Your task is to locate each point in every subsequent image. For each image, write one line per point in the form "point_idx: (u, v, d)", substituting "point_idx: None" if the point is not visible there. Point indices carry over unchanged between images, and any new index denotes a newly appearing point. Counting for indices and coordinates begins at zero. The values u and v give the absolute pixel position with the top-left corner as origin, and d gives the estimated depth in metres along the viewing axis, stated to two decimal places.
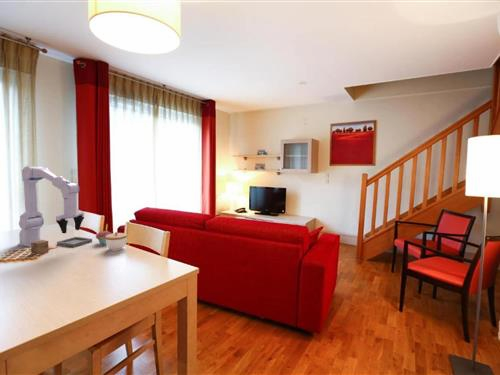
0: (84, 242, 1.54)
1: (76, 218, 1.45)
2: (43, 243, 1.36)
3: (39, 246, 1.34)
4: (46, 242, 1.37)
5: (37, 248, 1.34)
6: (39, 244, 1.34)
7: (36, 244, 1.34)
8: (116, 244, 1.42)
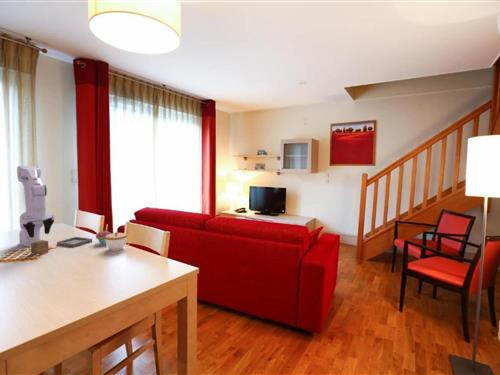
0: (84, 242, 1.54)
1: (45, 221, 1.39)
2: (43, 243, 1.36)
3: (39, 246, 1.34)
4: (46, 242, 1.37)
5: (37, 248, 1.34)
6: (39, 244, 1.34)
7: (36, 244, 1.34)
8: (116, 244, 1.42)
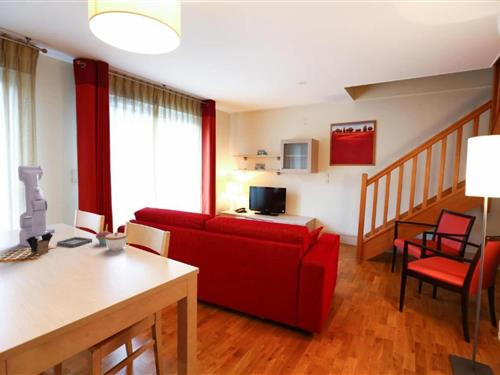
0: (84, 242, 1.54)
1: (44, 236, 1.39)
2: (43, 243, 1.36)
3: (39, 246, 1.34)
4: (46, 242, 1.37)
5: (37, 248, 1.34)
6: (39, 244, 1.34)
7: None
8: (116, 244, 1.42)
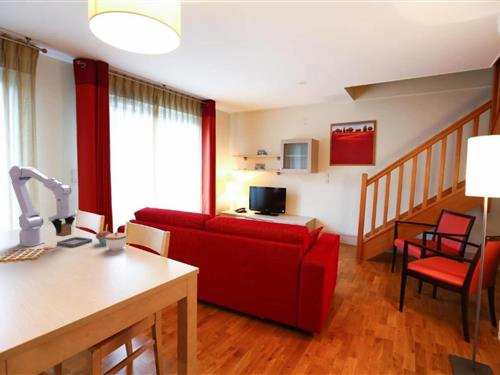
0: (84, 242, 1.54)
1: (67, 219, 1.50)
2: (67, 226, 1.47)
3: (63, 228, 1.45)
4: (69, 225, 1.48)
5: (61, 230, 1.45)
6: (63, 226, 1.45)
7: None
8: (116, 244, 1.42)
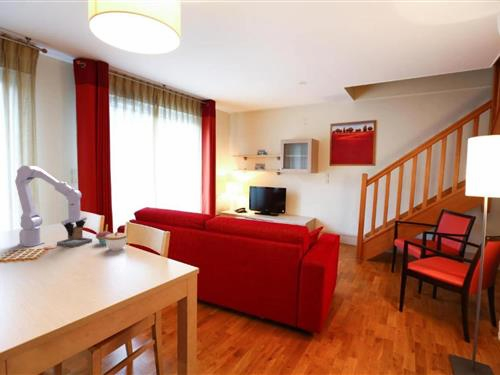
0: (84, 242, 1.54)
1: (78, 222, 1.57)
2: (78, 229, 1.54)
3: (75, 231, 1.52)
4: (81, 228, 1.55)
5: (73, 233, 1.51)
6: (75, 230, 1.52)
7: None
8: (116, 244, 1.42)
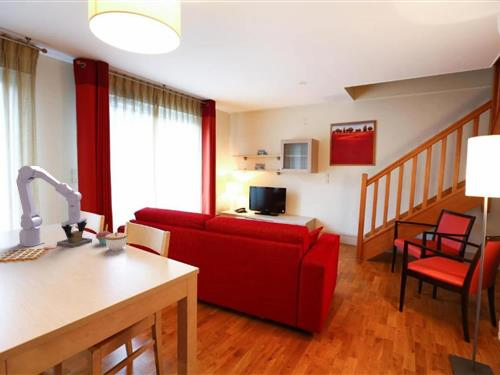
0: (84, 242, 1.54)
1: (79, 224, 1.58)
2: (78, 233, 1.54)
3: (75, 236, 1.52)
4: (80, 232, 1.55)
5: (73, 238, 1.52)
6: (75, 234, 1.52)
7: (72, 234, 1.52)
8: (116, 244, 1.42)
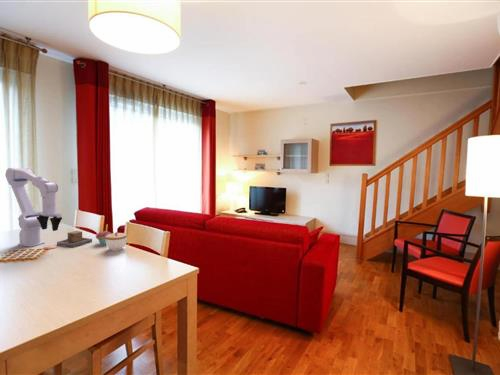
0: (84, 242, 1.54)
1: None
2: (78, 233, 1.54)
3: (75, 236, 1.52)
4: (80, 232, 1.55)
5: (73, 238, 1.52)
6: (75, 234, 1.52)
7: (72, 234, 1.52)
8: (116, 244, 1.42)
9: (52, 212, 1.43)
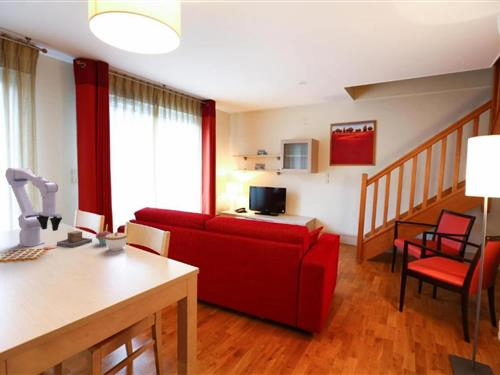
0: (84, 242, 1.54)
1: None
2: (78, 233, 1.54)
3: (75, 236, 1.52)
4: (80, 232, 1.55)
5: (73, 238, 1.52)
6: (75, 234, 1.52)
7: (72, 234, 1.52)
8: (116, 244, 1.42)
9: (52, 212, 1.43)
